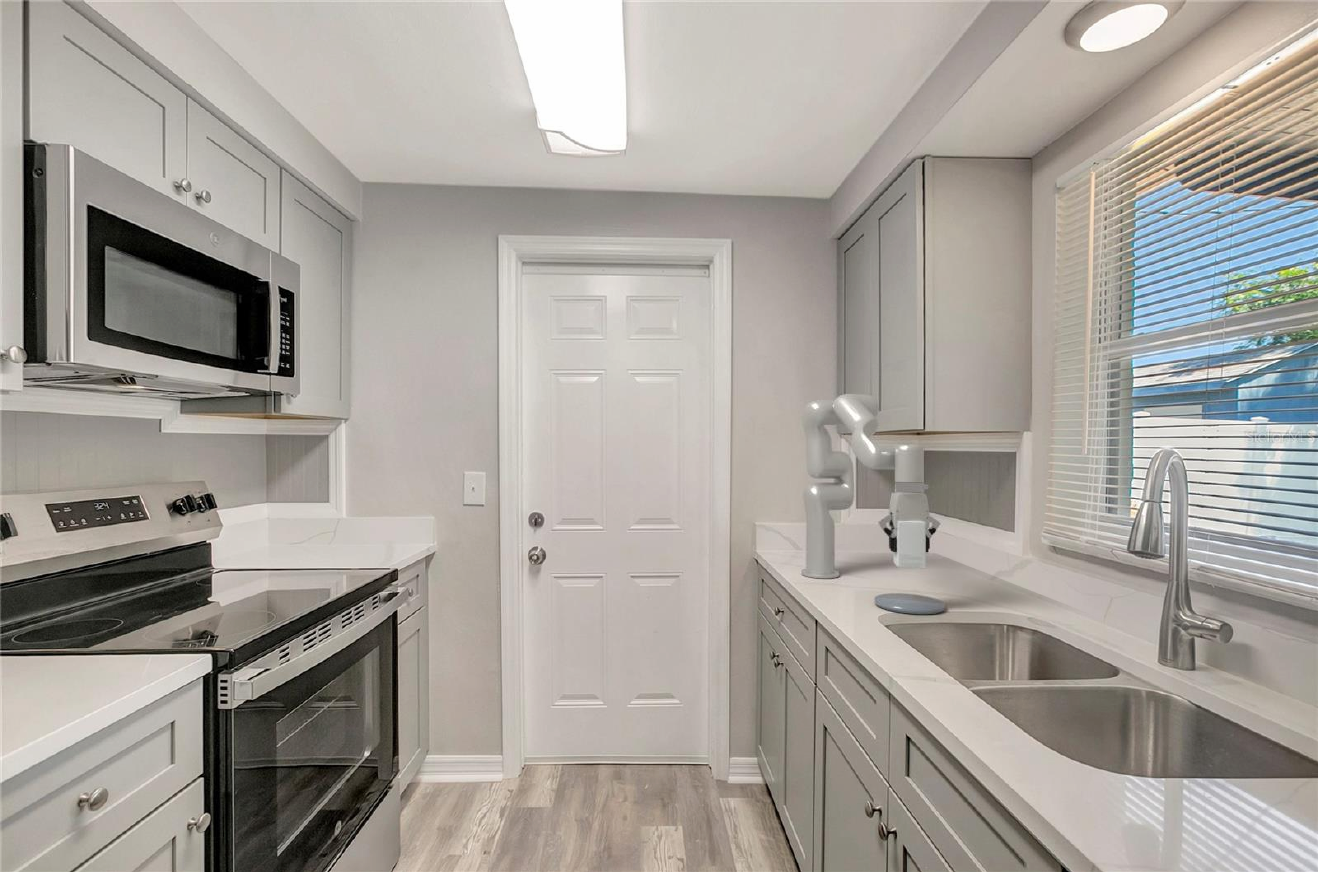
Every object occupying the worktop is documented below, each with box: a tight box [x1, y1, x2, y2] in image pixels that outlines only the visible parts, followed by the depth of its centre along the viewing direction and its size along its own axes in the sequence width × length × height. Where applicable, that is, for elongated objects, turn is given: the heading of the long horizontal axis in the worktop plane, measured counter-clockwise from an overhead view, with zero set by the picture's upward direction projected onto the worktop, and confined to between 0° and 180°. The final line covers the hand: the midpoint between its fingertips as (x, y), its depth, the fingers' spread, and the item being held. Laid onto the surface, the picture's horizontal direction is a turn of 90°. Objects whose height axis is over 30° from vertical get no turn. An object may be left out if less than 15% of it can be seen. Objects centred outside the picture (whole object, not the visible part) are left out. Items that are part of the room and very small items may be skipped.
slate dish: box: [874, 592, 946, 615], centre depth 173 cm, size 18×18×2 cm
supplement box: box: [893, 521, 927, 570], centre depth 174 cm, size 7×7×13 cm
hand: (909, 551), depth 174 cm, fingers closed on supplement box, 8 cm apart
